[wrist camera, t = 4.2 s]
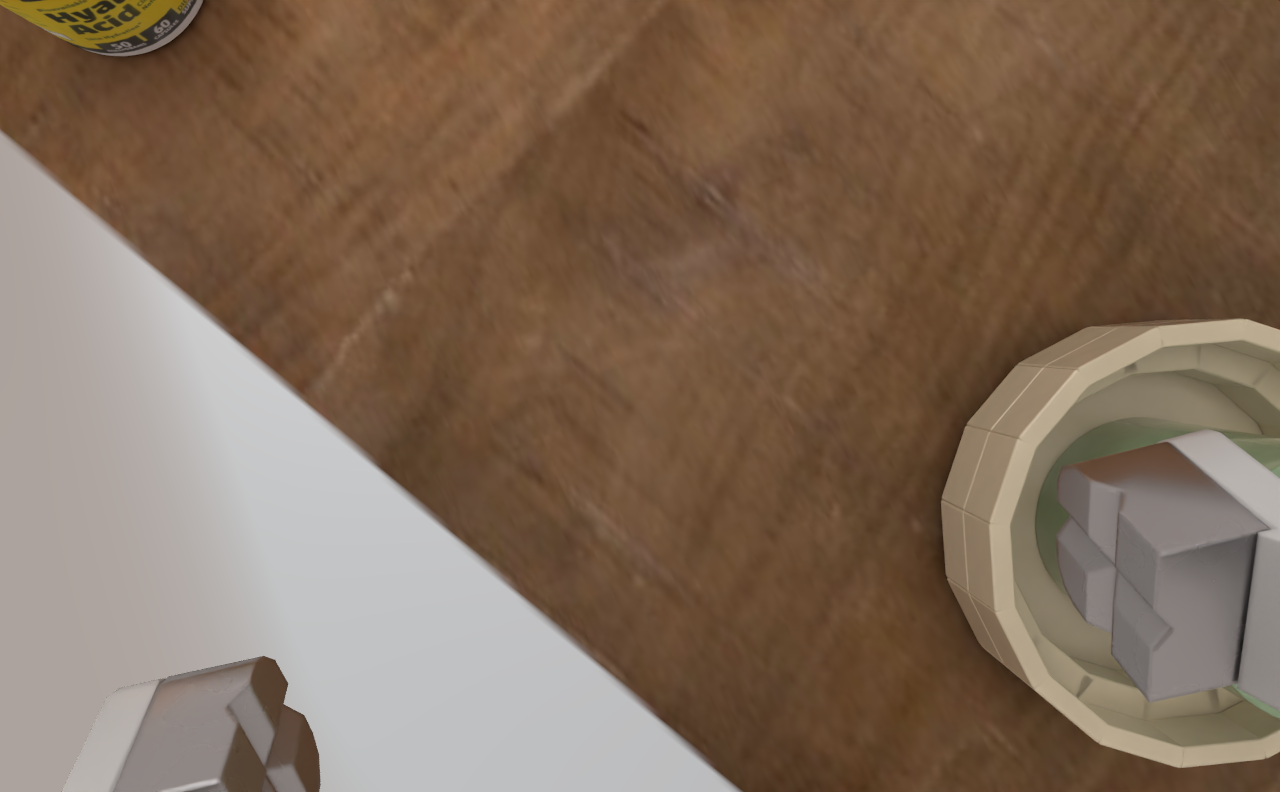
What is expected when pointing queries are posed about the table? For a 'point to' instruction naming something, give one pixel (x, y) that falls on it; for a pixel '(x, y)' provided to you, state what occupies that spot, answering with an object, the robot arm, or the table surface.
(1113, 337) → the cream bowl
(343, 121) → the table surface
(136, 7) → the supplement bottle
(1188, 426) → the sage green cylinder
